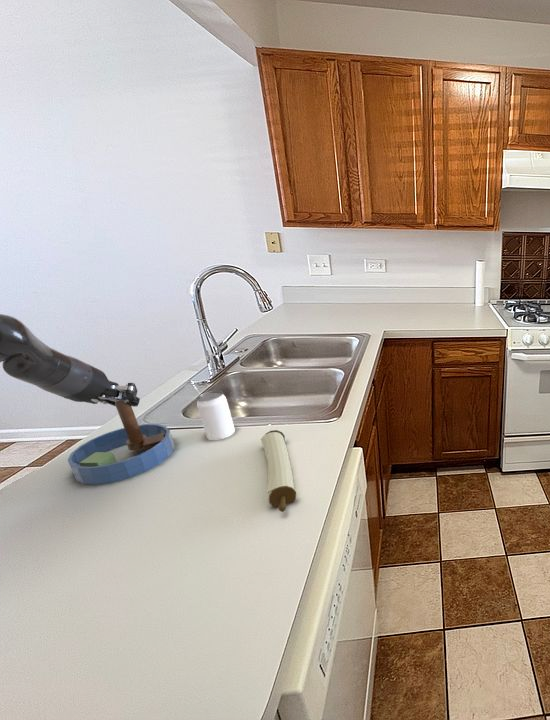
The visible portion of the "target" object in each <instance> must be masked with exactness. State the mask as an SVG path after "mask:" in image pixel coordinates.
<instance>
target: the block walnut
mask: <svg viewBox="0 0 550 720" xmlns="http://www.w3.org/2000/svg"><path fill="white" fill-rule="evenodd" d="M164 437H165V435H164V433H162V434H158V435H154V436H150V437H146V438H144V440H143V448H142V449H143V451H144V452H145V451H147V450H149V449H151V448H153V447H154V446H155V445H157V444H158V443H160V442H161V441H162V440H163V438H164Z"/></svg>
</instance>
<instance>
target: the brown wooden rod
mask: <svg viewBox="0 0 550 720" xmlns="http://www.w3.org/2000/svg"><path fill="white" fill-rule="evenodd" d="M122 398H123V393H122ZM114 403H115V406H114V407H115V408H116V410H117V414H118V415H119V419H120V421H121V424H122V426H123V428H124V429H125V431H126V434H127V436H128V440H127V441H126V444H125V445H126V447H127V449H128V450H129V451H131V452H132V451H139V450H142V449H144V448H143V440H144V438H146V437H147V436H146V435H142V433H141V430H140V428H139V425H140V424H139V422H138V420H137V418H136V414H135V411H134V409H133V406H131V405H128V404H126V403H124V402H121V401H115V402H114Z"/></svg>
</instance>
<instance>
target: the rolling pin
mask: <svg viewBox="0 0 550 720" xmlns="http://www.w3.org/2000/svg"><path fill="white" fill-rule="evenodd" d="M285 440H286V439H285V434H284V432H282V431H280V430H277V429H275V430H269V431H268V432H266V433H265V434H264V435H263V436H262V437H261V438H260V441H261V444H262V447H263V450H264V455H265V459H266V463H267V476H268V477H267V485H266V492H265V493H266V494H267V493H269V497H268V503H269V504H270V505H271V506H272V507H273V508H278V510H279V511H280V512H281V513H282V512H285V510H286V509H287V505H290V504H293V503H294V502H295V501H296V499H297V491H296V490H295V484H294V477H293V471H292V465H291V461H290V457H289V453H288V449H287V445H286V441H285Z"/></svg>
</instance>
